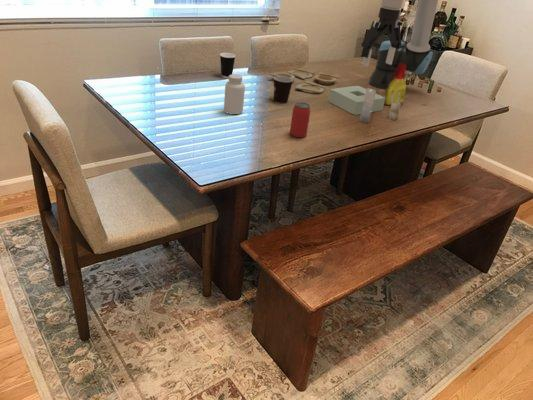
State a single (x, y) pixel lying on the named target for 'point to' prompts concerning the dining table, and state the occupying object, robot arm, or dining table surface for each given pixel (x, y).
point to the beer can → (300, 119)
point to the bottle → (396, 86)
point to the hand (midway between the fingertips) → (377, 64)
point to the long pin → (367, 105)
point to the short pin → (394, 110)
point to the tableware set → (309, 86)
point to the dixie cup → (227, 64)
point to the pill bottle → (234, 94)
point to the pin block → (353, 99)
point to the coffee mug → (282, 88)
